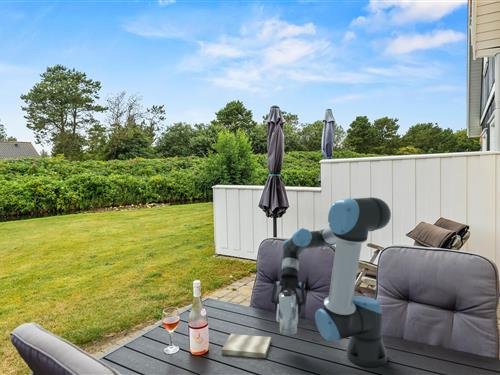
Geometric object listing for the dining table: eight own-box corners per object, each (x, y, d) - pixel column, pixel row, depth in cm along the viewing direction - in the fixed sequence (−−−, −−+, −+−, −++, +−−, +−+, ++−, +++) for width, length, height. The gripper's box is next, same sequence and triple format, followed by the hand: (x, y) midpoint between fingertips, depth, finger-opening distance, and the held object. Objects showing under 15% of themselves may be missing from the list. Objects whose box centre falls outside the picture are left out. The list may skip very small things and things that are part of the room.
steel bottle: (297, 328, 143) (296, 288, 143) (296, 335, 137) (294, 294, 136) (281, 327, 145) (279, 288, 145) (278, 334, 138) (277, 293, 138)
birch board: (270, 341, 149) (270, 337, 149) (265, 358, 135) (265, 353, 135) (231, 338, 153) (231, 333, 153) (221, 354, 139) (221, 349, 139)
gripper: (313, 275, 153) (312, 326, 138) (269, 274, 158) (264, 323, 142) (312, 266, 148) (311, 318, 132) (266, 265, 152) (261, 315, 137)
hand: (287, 321), depth 137 cm, fingers closed on steel bottle, 7 cm apart
